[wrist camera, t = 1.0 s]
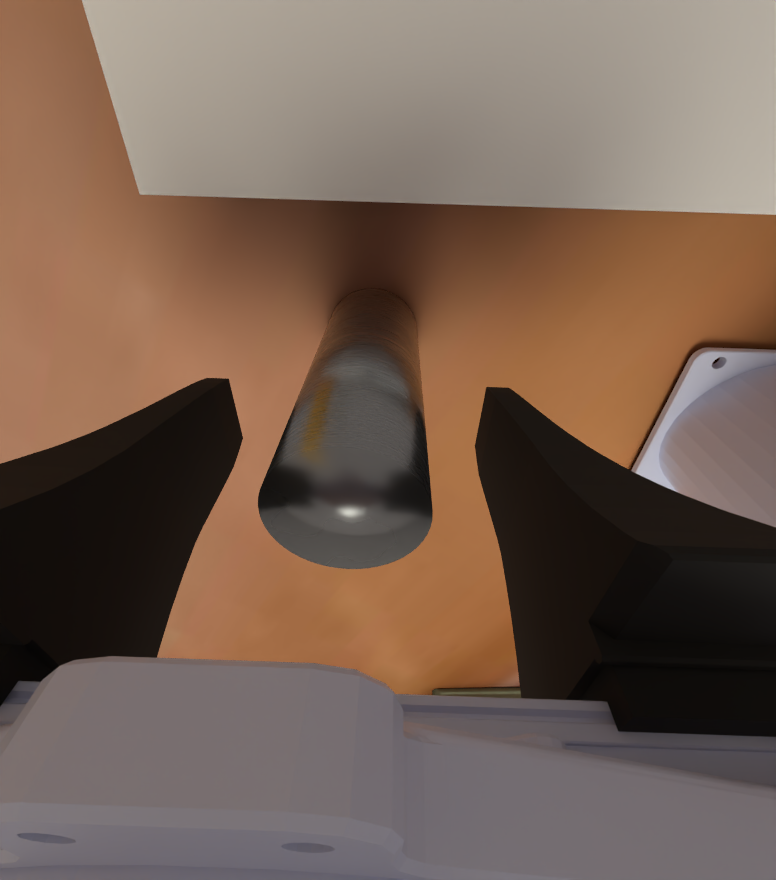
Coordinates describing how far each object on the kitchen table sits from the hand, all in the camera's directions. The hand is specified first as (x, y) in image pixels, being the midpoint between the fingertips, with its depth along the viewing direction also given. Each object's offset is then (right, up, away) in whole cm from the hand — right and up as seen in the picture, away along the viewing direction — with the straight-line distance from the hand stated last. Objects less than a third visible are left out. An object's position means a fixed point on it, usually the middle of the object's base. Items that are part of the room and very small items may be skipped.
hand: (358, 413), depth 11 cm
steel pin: (0, +4, +5) cm, 6 cm away
